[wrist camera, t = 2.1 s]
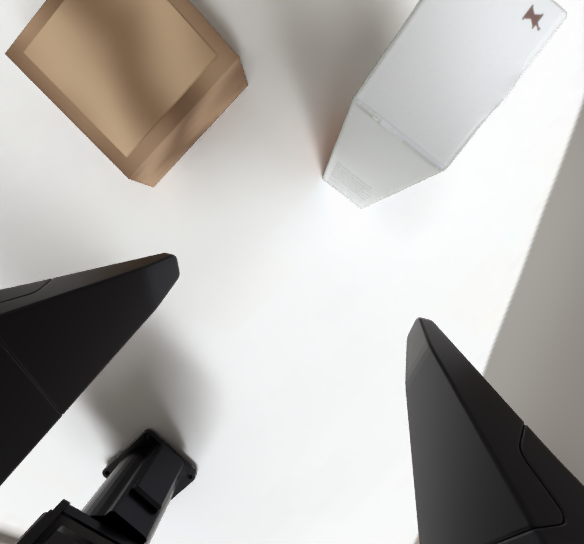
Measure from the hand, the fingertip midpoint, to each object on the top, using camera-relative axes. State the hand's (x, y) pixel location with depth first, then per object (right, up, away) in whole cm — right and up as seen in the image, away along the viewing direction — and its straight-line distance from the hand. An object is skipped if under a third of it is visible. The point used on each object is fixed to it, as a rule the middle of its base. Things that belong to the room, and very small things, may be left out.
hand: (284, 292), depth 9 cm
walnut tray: (-11, +15, +10) cm, 21 cm away
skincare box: (+6, +9, +11) cm, 16 cm away
